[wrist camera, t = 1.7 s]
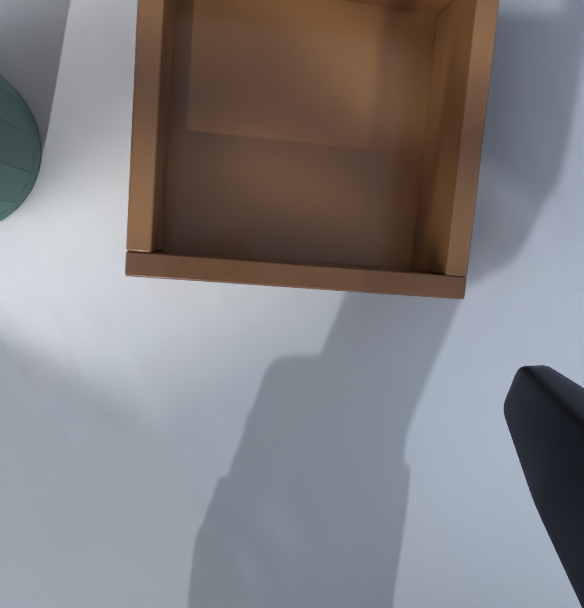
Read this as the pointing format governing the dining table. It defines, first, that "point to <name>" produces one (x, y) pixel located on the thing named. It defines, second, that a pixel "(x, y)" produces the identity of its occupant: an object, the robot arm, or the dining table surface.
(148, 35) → the crate
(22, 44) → the dining table surface
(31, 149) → the bottle
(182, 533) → the dining table surface
